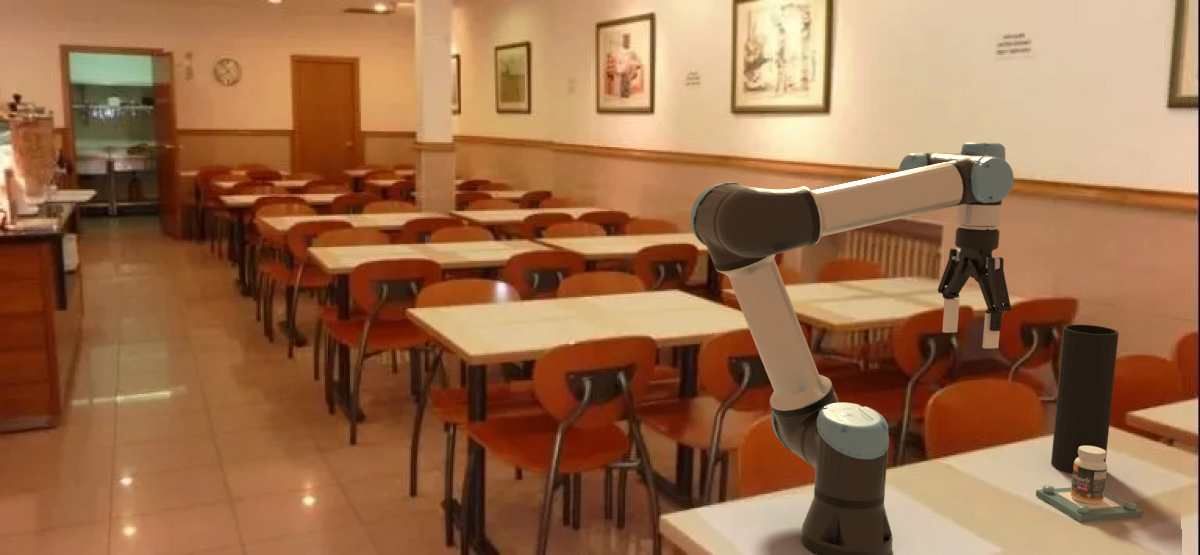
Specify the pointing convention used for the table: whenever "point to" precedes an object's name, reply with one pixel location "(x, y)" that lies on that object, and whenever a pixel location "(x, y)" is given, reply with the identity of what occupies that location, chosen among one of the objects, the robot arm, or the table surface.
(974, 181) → the robot arm
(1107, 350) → the vase
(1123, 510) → the plate
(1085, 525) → the table surface
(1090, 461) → the pill bottle
